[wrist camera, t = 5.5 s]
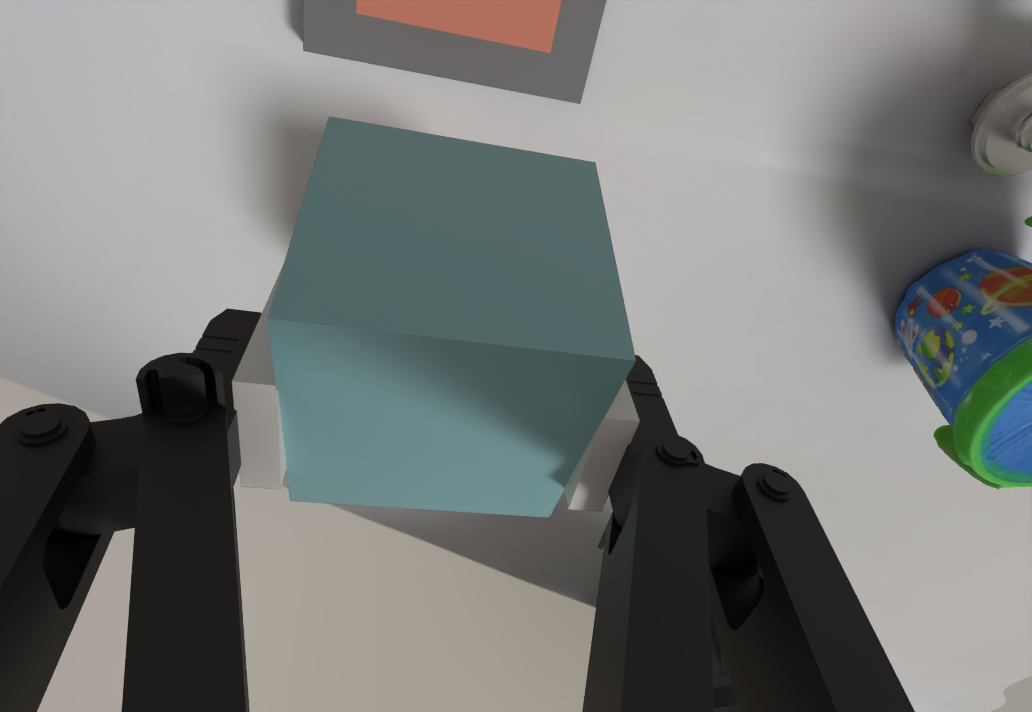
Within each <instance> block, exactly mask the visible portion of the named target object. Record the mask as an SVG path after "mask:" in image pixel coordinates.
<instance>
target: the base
mask: <svg viewBox="0 0 1032 712" xmlns="http://www.w3.org/2000/svg"><path fill="white" fill-rule="evenodd" d="M605 4H606V0H303V51H307V52H312V53H317V54H323V55H328V56H333V57H338V58H343V59H349V60H354V61H359V62H364V63H370V64H375V65H380V66H385V67H390V68H396V69H401V70H406V71H411V72H416V73H422V74H427V75H432V76H437V77H443V78H448V79H453V80H458V81H463V82H469V83H474V84H479V85H484V86H490V87H495V88H500V89H505V90H510V91H516V92H521V93H526V94H531V95H536V96H542V97H547V98H552V99H557V100H563V101H568V102H573V103H578V104H580V103H581V99H582V95H583V91H584V87H585V83H586V79H587V75H588V71H589V67H590V63H591V59H592V55H593V51H594V47H595V43H596V39H597V35H598V31H599V27H600V23H601V19H602V16H603V12H604V8H605Z"/></svg>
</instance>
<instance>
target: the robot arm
mask: <svg viewBox="0 0 1032 712" xmlns="http://www.w3.org/2000/svg"><path fill="white" fill-rule="evenodd" d="M283 265H284V264H283ZM282 268H283V267H282ZM281 271H282V269H281ZM281 271H280V274H279V276H278V278H277V280H276V283H275V285H274V287H273V289H272V292H271V294H270V296H269V298H268V301H267V303H266V305H265V308H264V310H263V312H262V313H260V312H252V311H243V310H234V309H226V310H225V311H223V312H222V313H220V314H219V315H218V316H216V317H215V318H213V319H212V320H210V322H209V324H208V326H207V328H206V329H205V331H204V333H203V335H202V338H200V340H199V342H198V344H197V346H196V350H194V351H193V353H176V354H170V355H164V356H162V357H159V358H157V359H155V360H152V361H150V362H149V363H148V364H146V365H145V366H144V367H143V368H141V369H140V371H139V373H138V375H137V378H136V383H137V388H138V393H139V398H140V403H141V408H142V413H141V414H138V415H136V416H131V417H126V418H121V419H113V420H105V421H97V422H90V421H89V419H88V417H87V415H86V413H85V412H84V411H82V410H81V409H79V408H77V407H75V406H71V405H66V404H60V403H57V404H42V405H38V406H34V407H30V408H27V409H23V410H21V411H19V412H17V413H15V414H13V415H11V416H10V417H7V418H6V419H5V420H4V421H3V422H2V423H1V424H0V712H37V710H38V708H39V705H40V703H41V701H42V698H43V696H44V694H45V691H46V689H47V687H48V685H49V682H50V680H51V678H52V675H53V673H54V671H55V668H56V666H57V664H58V661H59V659H60V656H61V654H62V652H63V650H64V647H65V645H66V643H67V640H68V638H69V636H70V633H71V631H72V629H73V627H74V624H75V622H76V620H77V617H78V615H79V613H80V610H81V608H82V606H83V603H84V601H85V599H86V596H87V594H88V592H89V589H90V587H91V585H92V582H93V580H94V577H95V575H96V573H97V571H98V568H99V566H100V564H101V562H102V559H103V557H104V554H105V552H106V550H107V548H108V545H109V543H110V541H111V538H112V536H113V534H114V532H115V531H120V530H125V529H130V528H135V534H134V548H133V562H132V575H131V589H130V603H129V618H128V632H127V645H126V659H125V673H124V688H123V702H122V712H249V698H248V685H247V670H246V656H245V641H244V627H243V614H242V599H241V585H240V571H239V557H238V543H237V528H236V514H235V501H234V491H233V486H234V484H235V481H236V478H237V475H238V472H239V471H240V483H241V487H253V488H269V489H281V486H282V483H283V479H284V476H285V472H286V469H287V464H286V456H285V447H284V439H283V431H282V422H281V414H280V406H279V397H278V390H276V385H275V377H274V369H273V361H272V354H271V346H270V338H269V330H268V322H267V317H268V314H269V310H270V307H271V304H272V301H273V297H274V294H275V291H276V288H277V284H278V281H279V278H280V275H281ZM635 358H636V361H635V363H634V365H633V367H632V369H631V370H630V372H629V374H628V376H627V378H626V380H625V381H624V383H623V385H622V387H621V389H620V390H619V392H618V394H617V396H616V398H615V399H614V401H613V403H612V405H611V407H610V408H609V410H608V412H607V414H606V416H605V418H604V419H603V421H601V423H600V425H599V427H598V429H597V430H596V432H595V434H594V436H593V438H592V439H591V441H590V443H589V445H588V447H587V448H586V450H585V452H584V454H583V456H582V457H581V459H580V461H579V463H578V465H577V466H576V468H575V470H574V472H573V474H572V475H571V477H570V479H569V481H568V483H567V484H566V486H565V494H566V499H567V504H568V509H572V510H587V511H602V509H603V507H604V504H605V502H606V500H607V497H608V495H609V496H610V500H611V504H612V508H613V513H612V515H611V517H610V520H609V522H608V524H607V526H606V529H605V531H604V533H603V535H602V538H601V540H600V542H599V545H598V548H601V549H602V548H603V546H604V553H603V560H602V568H601V575H600V583H599V590H598V598H597V605H596V614H595V620H594V628H593V636H592V643H591V651H590V658H589V666H588V673H587V681H586V688H585V696H584V703H583V711H582V712H915V711H914V709H913V707H912V705H911V703H910V701H909V699H908V697H907V695H906V693H905V691H904V689H903V687H902V685H901V683H900V681H899V679H898V677H897V675H896V673H895V671H894V669H893V667H892V665H891V663H890V661H889V659H888V657H887V655H886V653H885V651H884V649H883V647H882V645H881V643H880V641H879V639H878V637H877V635H876V633H875V631H874V630H873V628H872V626H871V624H870V622H869V620H868V618H867V616H866V614H865V612H864V610H863V608H862V606H861V604H860V602H859V600H858V598H857V596H856V594H855V592H854V590H853V588H852V586H851V584H850V582H849V580H848V578H847V576H846V574H845V572H844V570H843V568H842V566H841V564H840V562H839V560H838V558H837V556H836V554H835V552H834V550H833V548H832V546H831V544H830V542H829V540H828V538H827V536H826V534H825V532H824V530H823V528H822V526H821V524H820V522H819V520H818V518H817V516H816V514H815V512H814V510H813V508H812V506H811V504H810V502H809V500H808V498H807V496H806V494H805V492H804V490H803V489H802V488H801V486H800V485H799V483H798V482H797V481H796V480H795V479H794V478H792V477H791V476H790V475H789V474H788V473H786V472H784V471H782V470H781V469H779V468H777V467H775V466H771V465H767V464H764V463H757V464H751V465H749V466H747V467H745V469H744V471H743V473H742V474H741V476H739V475H736V474H733V473H730V472H727V471H724V470H721V469H718V468H715V467H713V466H710V465H708V464H705V462H704V459H703V456H702V454H701V452H700V451H699V450H698V449H697V447H696V446H695V445H693V444H692V443H691V442H689V441H688V440H687V439H685V438H683V437H681V436H678V433H677V431H676V429H675V426H674V424H673V421H672V419H671V416H670V414H669V411H668V409H667V406H666V404H665V401H664V399H663V398H662V394H661V392H660V389H659V387H658V386H657V382H656V379H655V377H654V374H653V372H652V369H651V368H650V367H649V366H648V365H647V364H646V363H645V362H644V361H643V360H642V359H641V358H640V357H639V356H638V355H635ZM604 544H605V545H604Z"/></svg>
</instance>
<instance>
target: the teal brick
mask: <svg viewBox="0 0 1032 712" xmlns="http://www.w3.org/2000/svg"><path fill="white" fill-rule="evenodd" d="M267 322H268V330H269V338H270V346H271V354H272V361H273V369H274V377H275V385H276V390H278V397H279V406H280V414H281V422H282V431H283V439H284V447H285V456H286V464H287V469H286V472H287V480H288V488H289V494H290V501H300V502H315V503H330V504H346V505H361V506H377V507H392V508H408V509H423V510H439V511H454V512H469V513H485V514H500V515H516V516H531V517H547V518H549V517H550V515H551V513H552V512H553V510H554V508H555V506H556V504H557V503H558V501H559V499H560V497H561V495H562V494H563V492H564V490H565V486H566V484H567V483H568V481H569V479H570V477H571V475H572V474H573V472H574V470H575V468H576V466H577V465H578V463H579V461H580V459H581V457H582V456H583V454H584V452H585V450H586V448H587V447H588V445H589V443H590V441H591V439H592V438H593V436H594V434H595V432H596V430H597V429H598V427H599V425H600V423H601V421H603V419H604V418H605V416H606V414H607V412H608V410H609V408H610V407H611V405H612V403H613V401H614V399H615V398H616V396H617V394H618V392H619V390H620V389H621V387H622V385H623V383H624V381H625V380H626V378H627V376H628V374H629V372H630V370H631V369H632V367H633V365H634V363H635V361H636V358H635V353H634V348H633V344H632V339H631V334H630V329H629V324H628V319H627V314H626V309H625V305H624V300H623V295H622V290H621V285H620V280H619V275H618V270H617V266H616V261H615V256H614V251H613V246H612V241H611V236H610V232H609V227H608V222H607V217H606V212H605V207H604V202H603V197H602V193H601V188H600V183H599V178H598V173H597V168H596V163H595V162H590V161H584V160H578V159H572V158H566V157H561V156H555V155H549V154H543V153H537V152H532V151H526V150H520V149H514V148H508V147H503V146H497V145H491V144H485V143H479V142H474V141H468V140H462V139H456V138H450V137H445V136H439V135H433V134H427V133H421V132H416V131H410V130H404V129H398V128H392V127H387V126H381V125H375V124H369V123H363V122H358V121H352V120H346V119H340V118H334V117H329V118H328V122H327V125H326V128H325V131H324V135H323V138H322V141H321V144H320V148H319V151H318V154H317V157H316V161H315V164H314V167H313V170H312V174H311V177H310V180H309V184H308V187H307V190H306V193H305V197H304V200H303V203H302V206H301V210H300V213H299V216H298V219H297V223H296V226H295V229H294V232H293V236H292V239H291V242H290V245H289V249H288V252H287V255H286V258H285V262H284V265H283V268H282V271H281V275H280V278H279V281H278V284H277V288H276V291H275V294H274V297H273V301H272V304H271V307H270V310H269V314H268V317H267Z"/></svg>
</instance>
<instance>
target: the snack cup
mask: <svg viewBox="0 0 1032 712" xmlns="http://www.w3.org/2000/svg"><path fill="white" fill-rule="evenodd" d="M1025 224H1026V225H1028V226H1030V227H1032V216H1031V217H1029V218H1027V219H1026V220H1025ZM895 339H896V340H897V341H898V343H899V345H900V347H901V349H902V351H903V353H904V355H905V357H906V358H907V360H908V361H909V363H910V364H911V365H912V367H913V369H914V371H915V373H916V374H917V376H918V378H919V379H920V381H921V382H922V384H923V386H924V387H925V389H926V390H927V392H928V393H929V395H930V397H931V398H932V400H933V401H934V403H935V405H936V406H937V407H938V409H939V410H940V412H941V413H942V415H943V416H944V417H945V419H946V420H947V422H948V423H949V424H950V425H945V426H941V427H939V428H937V429H936V431H935V432H934V438H935V439H936V441H937V444H938V446H939V447H940V448H941V449H942V450H943V451H944V453H945V454H946V455H948V456H949V457H950V458H951V459H952V460H953V461H954V462H956V463H957V464H958V465H959V466H960V467H961V468H963V469H964V470H965V471H967V472H968V473H969V474H970V475H972V476H973V477H974V478H976V479H978V480H979V481H981V482H982V483H984V484H985V485H988V486H991V487H994V488H997V489H999V488H1010V487H1032V263H1030V262H1028V261H1026V260H1023V259H1021V258H1019V257H1016V256H1013V255H1010V254H1007V253H1003V252H998V251H988V250H983V249H975V250H971V251H969V252H967V253H966V254H965V255H962V256H959V257H956V258H954V259H952V260H950V261H947V262H945V263H943V264H940V265H939V266H938V267H936V268H934V269H932V270H931V271H930V272H928V273H927V274H926V275H925V276H924V277H923V278H921V279H920V280H918V281H915V282H913V283H912V284H911V285H910V286H909V288H908V289H907V291H906V296H905V298H904V300H903V301H902V303H901V304H900V306H899V307H898V309H897V312H896V318H895Z"/></svg>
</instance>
